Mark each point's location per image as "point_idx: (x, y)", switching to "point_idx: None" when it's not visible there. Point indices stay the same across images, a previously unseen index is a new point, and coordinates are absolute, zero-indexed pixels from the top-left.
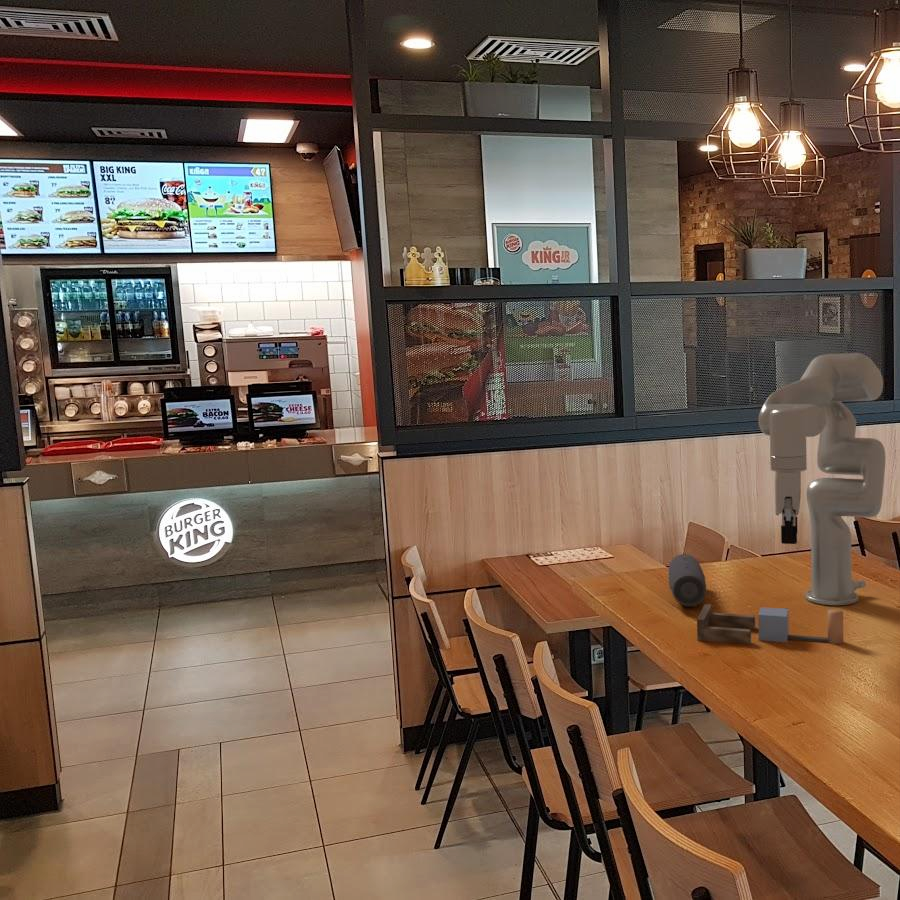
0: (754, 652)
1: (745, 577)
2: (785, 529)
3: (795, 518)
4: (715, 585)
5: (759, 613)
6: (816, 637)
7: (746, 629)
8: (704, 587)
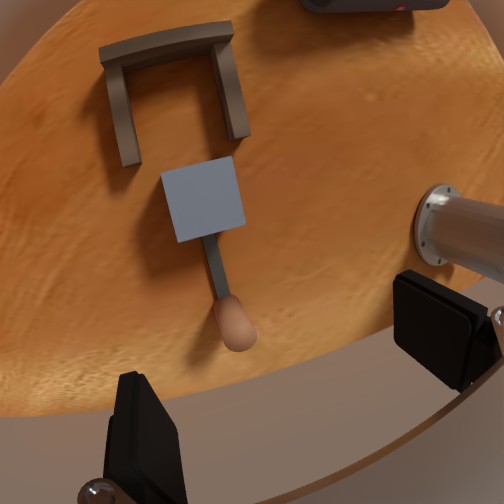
0: (87, 194)
1: (476, 84)
2: (104, 473)
3: (452, 386)
4: (435, 39)
5: (173, 171)
6: (222, 276)
7: (134, 153)
8: (331, 4)
